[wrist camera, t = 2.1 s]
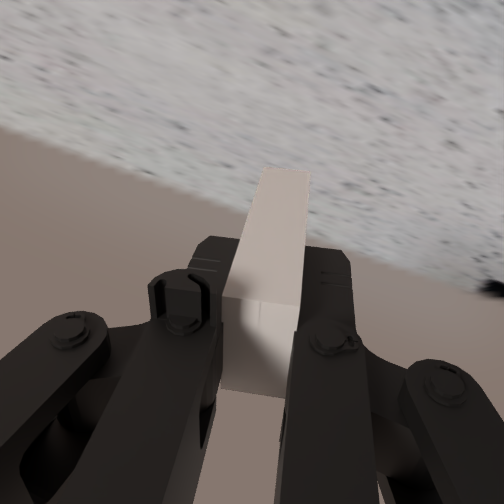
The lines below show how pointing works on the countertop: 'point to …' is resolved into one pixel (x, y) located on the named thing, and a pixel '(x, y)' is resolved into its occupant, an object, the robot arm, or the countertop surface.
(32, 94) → the countertop surface
